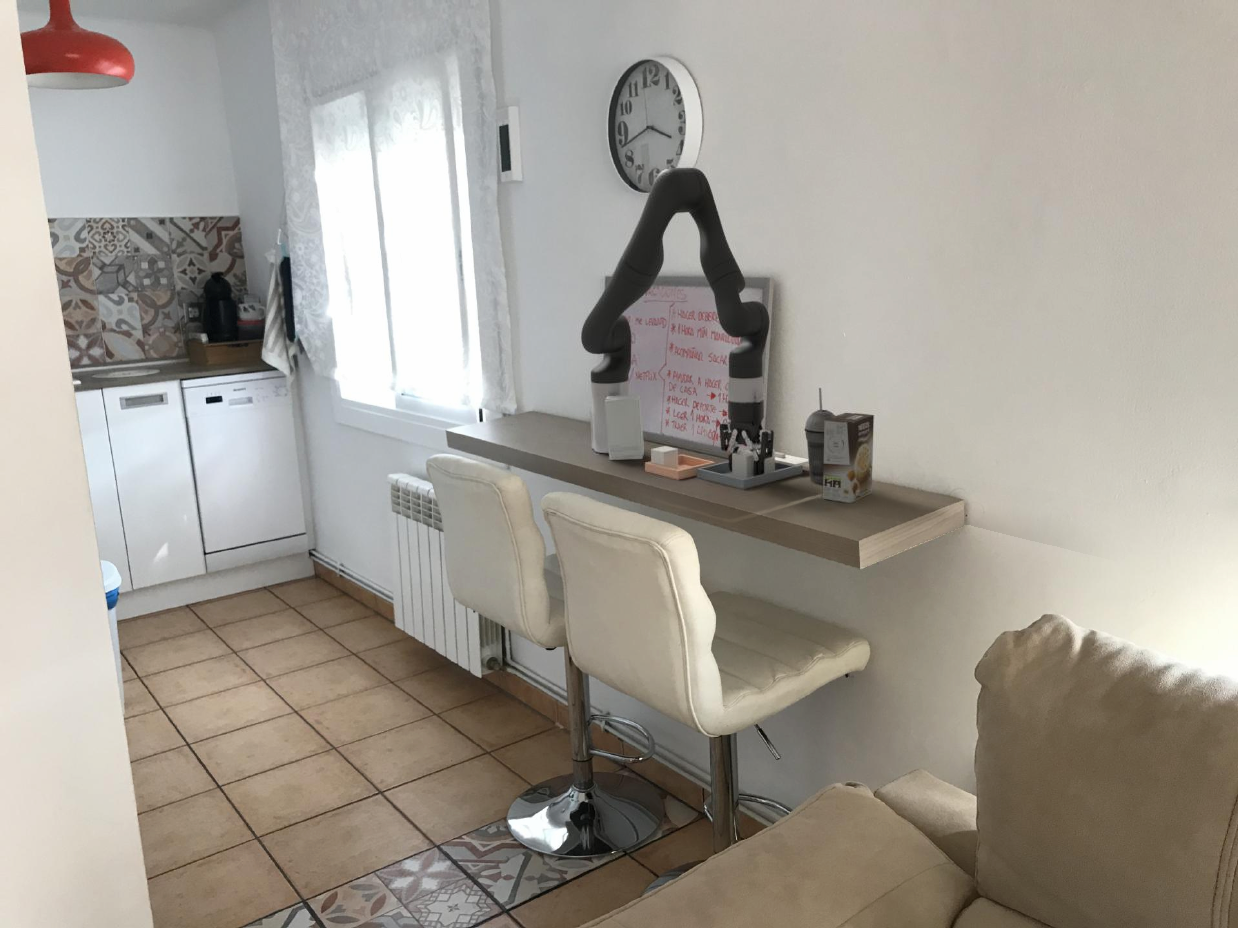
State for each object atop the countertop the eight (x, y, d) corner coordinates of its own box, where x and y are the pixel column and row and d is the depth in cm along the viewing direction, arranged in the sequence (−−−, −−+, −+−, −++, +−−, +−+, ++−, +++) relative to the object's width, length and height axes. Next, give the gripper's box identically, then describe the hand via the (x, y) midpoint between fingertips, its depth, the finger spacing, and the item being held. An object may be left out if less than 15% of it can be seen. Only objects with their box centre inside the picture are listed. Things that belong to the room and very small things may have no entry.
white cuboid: (732, 476, 212) (732, 453, 211) (746, 472, 215) (746, 450, 214) (746, 479, 209) (746, 456, 208) (760, 476, 212) (760, 453, 211)
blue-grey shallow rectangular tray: (695, 479, 213) (695, 462, 212) (762, 463, 225) (762, 446, 225) (744, 492, 202) (744, 473, 201) (811, 473, 214) (811, 456, 213)
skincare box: (644, 454, 239) (642, 393, 235) (642, 460, 233) (640, 398, 229) (609, 454, 239) (607, 394, 236) (607, 460, 234) (604, 398, 230)
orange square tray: (645, 473, 220) (644, 462, 219) (681, 465, 227) (681, 454, 226) (678, 482, 212) (678, 471, 211) (715, 473, 218) (715, 462, 218)
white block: (651, 471, 220) (650, 449, 218) (665, 467, 222) (665, 446, 221) (664, 474, 216) (663, 452, 215) (678, 470, 219) (677, 448, 218)
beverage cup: (813, 489, 202) (814, 392, 197) (798, 481, 209) (798, 387, 204) (845, 485, 204) (847, 390, 199) (829, 477, 211) (830, 384, 206)
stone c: (747, 472, 215) (747, 450, 214) (760, 469, 218) (760, 446, 217) (761, 475, 212) (761, 453, 211) (774, 472, 215) (775, 449, 213)
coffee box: (851, 504, 191) (853, 422, 187) (822, 499, 195) (822, 419, 191) (872, 493, 198) (874, 414, 194) (843, 488, 202) (844, 411, 198)
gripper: (709, 396, 211) (710, 471, 215) (758, 404, 200) (758, 483, 204) (734, 391, 216) (734, 465, 220) (783, 399, 205) (783, 476, 209)
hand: (746, 473), depth 212 cm, fingers open, 6 cm apart
